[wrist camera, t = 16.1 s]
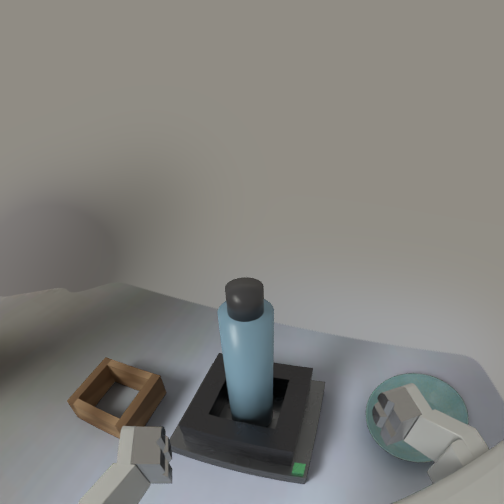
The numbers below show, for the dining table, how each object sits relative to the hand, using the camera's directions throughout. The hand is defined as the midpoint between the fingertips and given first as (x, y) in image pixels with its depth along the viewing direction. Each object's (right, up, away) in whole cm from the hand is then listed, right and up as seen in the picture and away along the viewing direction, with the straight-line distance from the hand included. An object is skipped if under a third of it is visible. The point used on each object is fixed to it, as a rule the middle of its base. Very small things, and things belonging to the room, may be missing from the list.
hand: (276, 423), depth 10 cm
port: (-1, -11, +18) cm, 21 cm away
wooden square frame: (-16, -11, +19) cm, 27 cm away
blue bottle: (-1, -10, +17) cm, 20 cm away
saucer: (+16, -12, +15) cm, 25 cm away
